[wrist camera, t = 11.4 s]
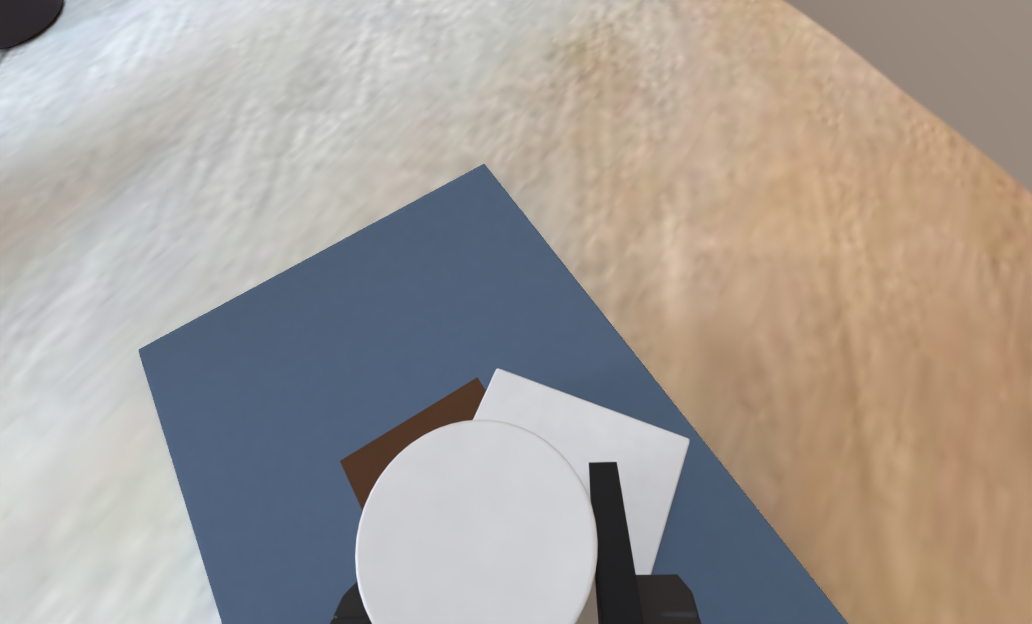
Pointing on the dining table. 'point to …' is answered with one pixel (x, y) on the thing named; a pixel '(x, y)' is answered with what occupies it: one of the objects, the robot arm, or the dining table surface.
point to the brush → (510, 511)
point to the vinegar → (25, 19)
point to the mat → (417, 408)
